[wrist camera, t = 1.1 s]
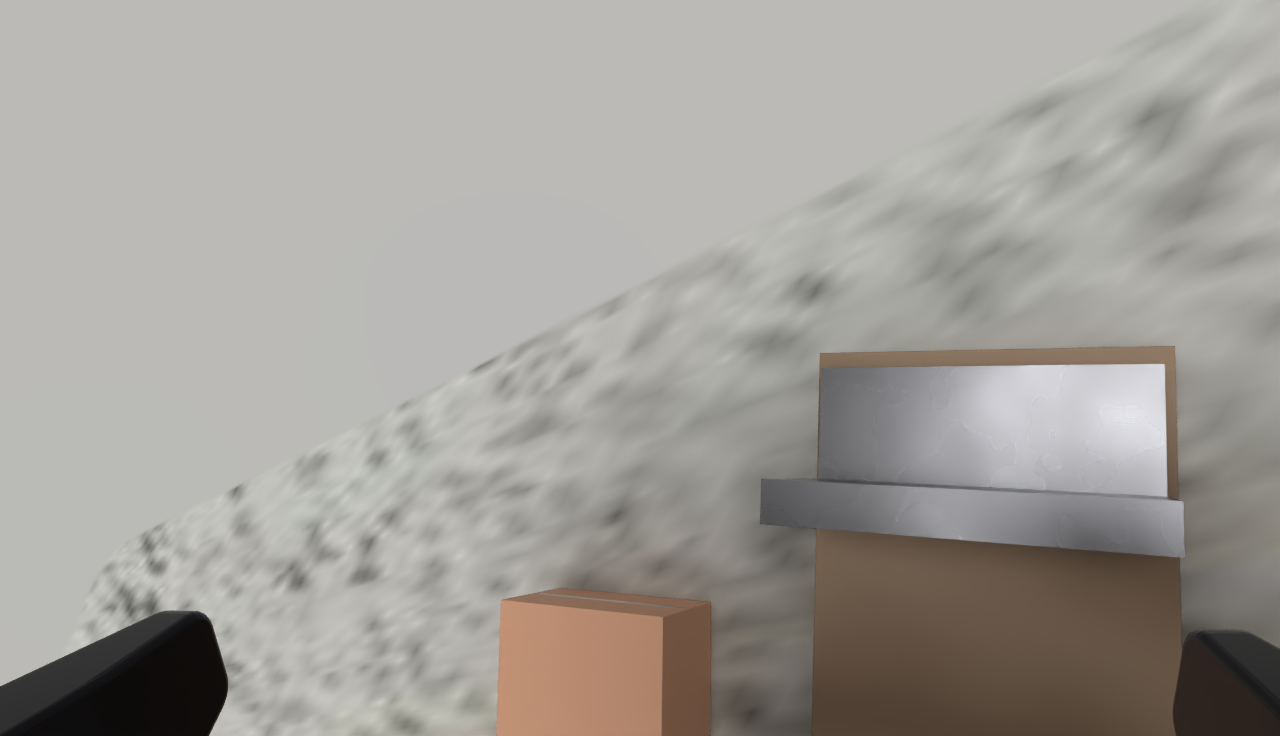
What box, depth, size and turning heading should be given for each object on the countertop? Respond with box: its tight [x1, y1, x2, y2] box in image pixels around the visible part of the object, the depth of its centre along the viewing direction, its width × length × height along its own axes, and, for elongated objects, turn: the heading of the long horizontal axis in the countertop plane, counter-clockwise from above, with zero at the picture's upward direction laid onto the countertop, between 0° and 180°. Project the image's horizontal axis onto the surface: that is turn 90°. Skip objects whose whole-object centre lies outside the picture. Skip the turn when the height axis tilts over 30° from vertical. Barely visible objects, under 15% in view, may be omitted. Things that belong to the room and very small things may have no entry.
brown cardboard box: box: [496, 588, 711, 736], centre depth 26 cm, size 7×6×4 cm
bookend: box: [760, 364, 1185, 558], centre depth 20 cm, size 4×8×5 cm, turn 88°
